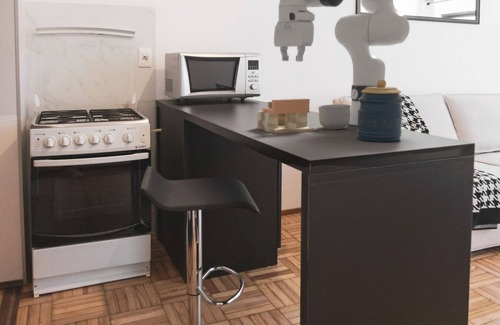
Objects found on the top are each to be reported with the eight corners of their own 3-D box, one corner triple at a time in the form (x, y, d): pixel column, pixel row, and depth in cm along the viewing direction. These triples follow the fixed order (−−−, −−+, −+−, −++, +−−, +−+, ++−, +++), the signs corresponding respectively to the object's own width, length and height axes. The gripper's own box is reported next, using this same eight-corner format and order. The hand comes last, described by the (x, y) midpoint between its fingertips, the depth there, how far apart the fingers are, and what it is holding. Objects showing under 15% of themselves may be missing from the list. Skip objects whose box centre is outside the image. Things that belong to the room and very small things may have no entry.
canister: (355, 135, 154) (357, 78, 150) (398, 136, 151) (401, 78, 148) (357, 142, 141) (360, 80, 137) (404, 143, 139) (408, 80, 135)
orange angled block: (261, 111, 166) (261, 98, 165) (294, 109, 171) (295, 96, 170) (273, 114, 157) (274, 100, 156) (309, 112, 162) (309, 99, 161)
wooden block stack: (257, 128, 169) (257, 102, 167) (294, 126, 175) (294, 100, 173) (274, 133, 156) (275, 105, 155) (314, 131, 162) (315, 104, 160)
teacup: (349, 131, 163) (350, 107, 161) (316, 130, 165) (317, 106, 163) (349, 125, 176) (350, 103, 175) (319, 124, 178) (320, 102, 177)
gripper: (269, 18, 162) (269, 60, 165) (299, 14, 144) (298, 61, 147) (286, 18, 165) (285, 60, 168) (317, 14, 146) (316, 61, 150)
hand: (292, 61), depth 157 cm, fingers open, 8 cm apart
